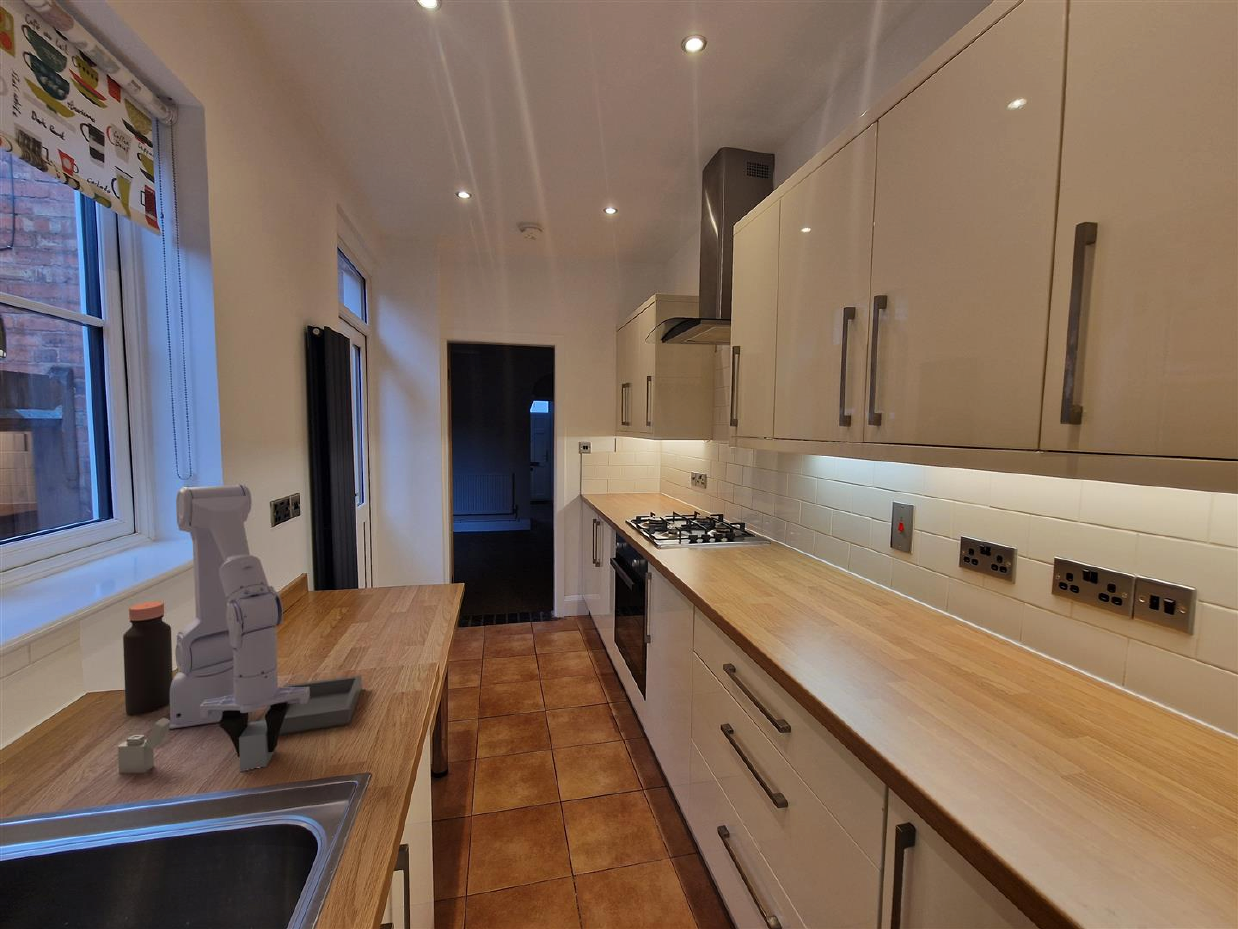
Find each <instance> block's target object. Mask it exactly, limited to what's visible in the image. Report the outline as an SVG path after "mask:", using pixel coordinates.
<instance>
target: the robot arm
mask: <svg viewBox="0 0 1238 929" xmlns="http://www.w3.org/2000/svg"><path fill="white" fill-rule="evenodd" d="M175 502H176V503H175V505H176V506H175V507H176V508H175V509H176V523H177V526H178V530H179V531H182V532H186V533H189V534H190V538H191V541H192V556H193V560H192V561H193V578H194V580H193V581H194V601H195V604H194V605H195V606H194V607H195V618H194V619H192V621H190V622H189V623H188V624H186V625H185V626H184V627H183V628H181V629H180V630H179V631H178V632H177V635H176V646H175V650H174V651H175V662H176V663H175V664H176V667H177V669H178V672H177V673H176V674H175V675H174V676H173V680H172V683H171V687H170V704H169V716H170V717H169V718H170V719H169V720H170V721H172V722H171V724H170V726H169V728H168V730H170V729H177V728H184V727H191V726H198V725H206V724H212V723H213V724H214V723H219V727H220V728H221V729H222V730H223V731H224V732H225V733H226V734H227V735H228V737H229V738H230V740H231V742H232V744H233V746H234V748H235V752H236V755H237V757H238V758H240V753H239V737H240V736H241V734H242V733H243V732H244V730H245V729H246V727H247V726H248V725H249V722H248V721H249V713H252V712H256V710H258V709H262V708H269V707H270V706H271V708H270V709H269V710H268V709H267V710H268V712H267V713H266V712H265V713H266V715H265V720H266V724H267V730H268V753H270V752H274V750H275V751H276V748H277V746H278V741H279V737H280V736H279V732H280V729H281V725H282V722H283V720H284V717H285V715H286V712H287V710H288V708H289V706H290V704H291V703H299V704H305V703H307V701H308V700H309V698H310V689H309V687H283V686H279V682H278V681H279V676H278V673H279V671H278V637H277V636H278V633H277V632H278V629H277V627H278V626H280V625H281V624H282V622H283V620H284V619H283V617H284V608H283V603H282V599H281V596H280V594H279V593H278V591H276V590H275V588H274V586H272V585H269V583H268V579H267V578H266V573H265V571H264V567H263V565H262V563H261V559H260V558H259V557H257V556H255V555H252V554H250V549H249V543H248V539H247V532H246V528H245V524H244V523H245V522H247V520H248V518H249V514H250V512H251V510H252V494H251V491H250V488H249V487H248V486H247V485H246V484H244V483H239V484H237V485H236V484H231V485H217V486H216V485H212V486H211V485H210V486H197V487H194V486H193V487H188V486H183V487H181V488H180V489H179V490H178V491H177V494H176V499H175ZM276 626H277V627H276ZM274 753H275V752H274Z"/></svg>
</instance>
